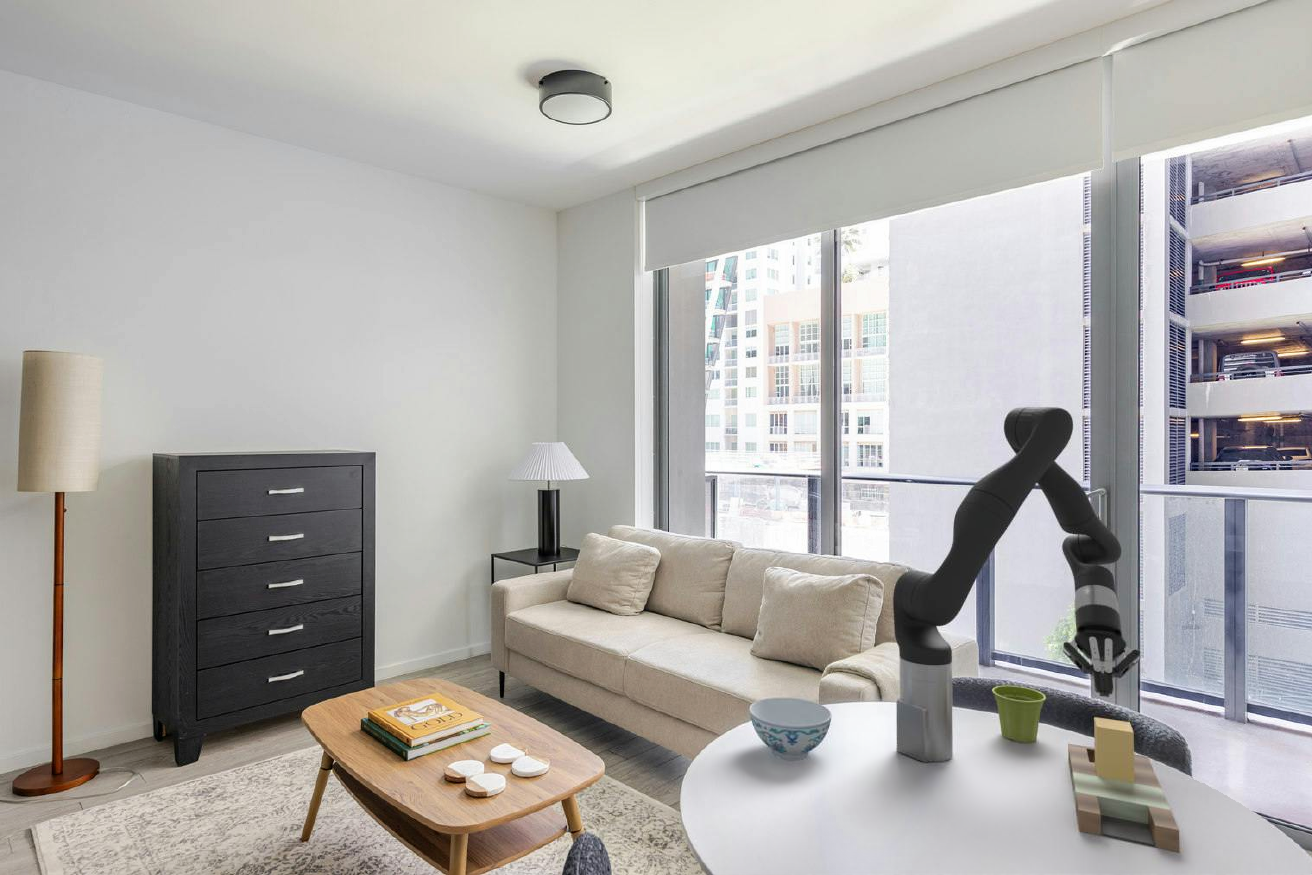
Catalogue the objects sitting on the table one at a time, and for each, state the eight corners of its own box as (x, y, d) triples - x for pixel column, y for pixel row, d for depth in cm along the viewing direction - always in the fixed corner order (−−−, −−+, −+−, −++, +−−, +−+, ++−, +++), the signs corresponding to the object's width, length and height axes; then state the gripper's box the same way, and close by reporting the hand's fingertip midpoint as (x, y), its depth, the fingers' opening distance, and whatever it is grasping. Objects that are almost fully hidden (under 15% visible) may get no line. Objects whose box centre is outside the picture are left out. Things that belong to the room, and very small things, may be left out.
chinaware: (802, 732, 140) (802, 693, 140) (848, 763, 126) (848, 719, 126) (735, 743, 135) (735, 702, 135) (775, 775, 121) (775, 730, 121)
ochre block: (1094, 764, 119) (1094, 717, 119) (1130, 771, 116) (1129, 722, 117) (1097, 776, 114) (1096, 726, 115) (1134, 783, 112) (1133, 732, 112)
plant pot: (1056, 747, 134) (1055, 701, 134) (1006, 746, 134) (1006, 700, 134) (1030, 728, 143) (1030, 685, 143) (984, 728, 143) (983, 685, 144)
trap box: (1068, 760, 128) (1068, 743, 128) (1148, 774, 122) (1147, 756, 122) (1078, 830, 103) (1078, 809, 103) (1179, 852, 98) (1179, 830, 98)
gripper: (1058, 599, 140) (1063, 678, 129) (1138, 606, 134) (1150, 689, 122) (1058, 621, 144) (1062, 699, 133) (1135, 628, 138) (1146, 710, 127)
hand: (1104, 694), depth 128 cm, fingers closed
